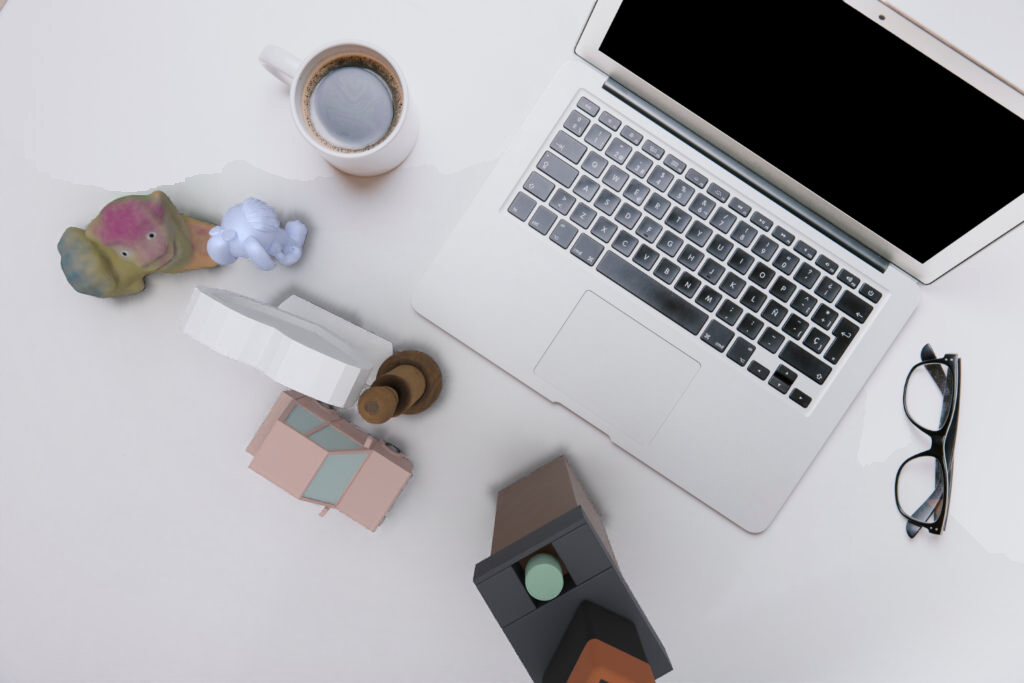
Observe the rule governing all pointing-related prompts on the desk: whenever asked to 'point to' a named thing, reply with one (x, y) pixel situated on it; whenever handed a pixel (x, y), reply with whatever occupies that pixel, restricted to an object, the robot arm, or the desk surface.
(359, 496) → the toy car
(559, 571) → the tare button
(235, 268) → the desk surface
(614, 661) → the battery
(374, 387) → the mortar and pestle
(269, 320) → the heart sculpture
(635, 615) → the dark grey tall block
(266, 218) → the toy figurine
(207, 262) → the sculpture
